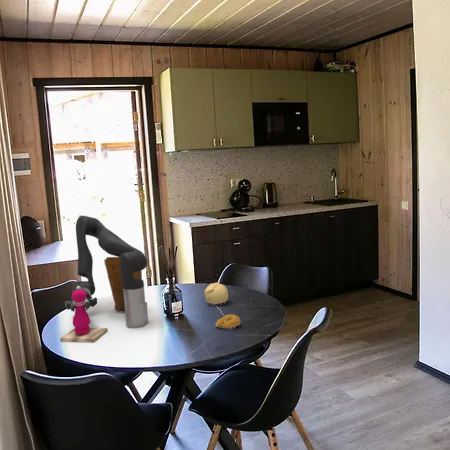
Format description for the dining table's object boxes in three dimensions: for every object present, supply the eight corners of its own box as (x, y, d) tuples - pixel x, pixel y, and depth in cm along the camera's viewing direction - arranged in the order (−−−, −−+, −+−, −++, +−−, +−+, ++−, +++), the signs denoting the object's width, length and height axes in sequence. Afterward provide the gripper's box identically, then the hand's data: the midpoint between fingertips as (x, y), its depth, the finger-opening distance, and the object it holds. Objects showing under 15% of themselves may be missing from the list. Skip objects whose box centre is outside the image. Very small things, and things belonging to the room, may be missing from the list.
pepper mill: (86, 335, 198) (81, 288, 195) (70, 334, 200) (65, 288, 197) (94, 328, 205) (90, 283, 202) (78, 328, 207) (74, 283, 204)
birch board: (107, 331, 208) (107, 328, 208) (94, 342, 195) (93, 338, 195) (76, 330, 211) (75, 327, 211) (60, 341, 198) (60, 338, 198)
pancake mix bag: (142, 314, 230) (138, 257, 226) (107, 312, 236) (103, 256, 232) (148, 310, 236) (144, 254, 233) (114, 308, 242) (110, 254, 238)
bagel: (215, 323, 211) (215, 313, 211) (240, 322, 211) (240, 312, 210) (215, 331, 201) (214, 320, 201) (241, 330, 201) (240, 320, 201)
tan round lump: (207, 300, 248) (206, 280, 246) (230, 300, 246) (229, 280, 245) (203, 307, 236) (201, 286, 235) (227, 307, 235) (225, 285, 233)
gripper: (64, 291, 213) (61, 301, 196) (97, 287, 216) (96, 297, 199) (66, 307, 214) (62, 319, 197) (99, 303, 217) (98, 315, 200)
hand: (79, 308), depth 198 cm, fingers closed on pepper mill, 4 cm apart
